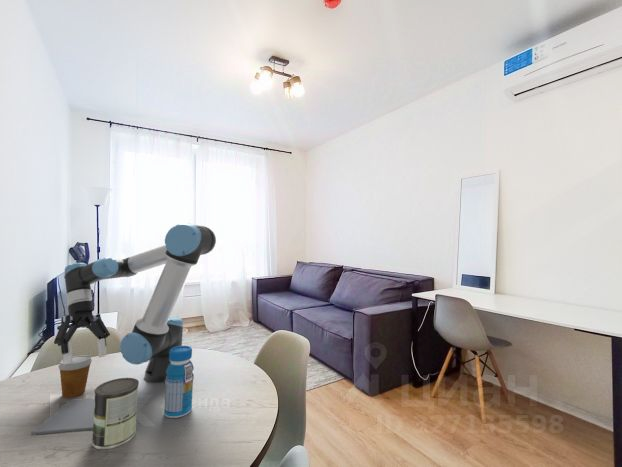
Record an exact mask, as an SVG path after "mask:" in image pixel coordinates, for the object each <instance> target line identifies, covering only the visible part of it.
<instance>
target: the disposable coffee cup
mask: <svg viewBox="0 0 622 467" xmlns="http://www.w3.org/2000/svg"><path fill="white" fill-rule="evenodd" d="M92 362H93V359H92V357H91V356H90V355H84V354H83V355H75V356H73V362H71V363H68V364H65V365H64V359H61V361H60V362H59V364H58V369H59V374H60V385H61V397H62V398H63V399H72V398H76V397H79V396H81V395H84V394H85V391H86V387H87V384H88V383H87V382H88V377H89V372H90V368H91V364H92Z"/></svg>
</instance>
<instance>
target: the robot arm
mask: <svg viewBox="0 0 622 467" xmlns="http://www.w3.org/2000/svg"><path fill="white" fill-rule="evenodd" d="M216 242H217V239H216V235H215V232H214V231H213V230H212V229H211V228H209V227H207V226H205V225H198V224H193V223H178V224H176V225H174V226H172V227H171V228H170V229H169V230H168V231H167V232H166V234H165V238H164V244H165V245H161V246H159V247H155V248H152V249H150V250H147V251H144V252H140V253H137V254H134V255H132V256H130V257H129V256H128V257H126V258H123V259H114V258H112V257H110V256H106V257H103V258H99V259H97V260H95V261H92V262H90V263H88V264H87V263H84V262H75V263H71V264H67V266H65V268H64V275H63V276H64V282H65V290H66V292H65V293H66V299H67V305H68V306H67V311H68V314H67V315H65V316H62V317H61V320H60V321H61V323H60V326H59V328H58V331H57V334H56V336H55V339H54V341H53V343H54V345H57V346H58V347H60V351H61V354H62V356H63V360H64V365H65V364H68V363H71V362H73V350H72V349H73V348H72V342H70V341H71V340H72V338H73V336H74V334H75V332H77V330H78V329H81V328H82V329H83V328H85V329H88V330H89V331H90V332H91V333H92V334H93V335H94V336H95V337H96V338H97V340H96V344H97V350H98V353H97V354H98V358H103V357H105V356H107V355H108V354H107V340H106V339H107V338H108V337H109V336H111V333H110V332H109V331H108V330H109V329H108V328H107V327H106V324H105V323H104V322H103V320H102V317H101V314H100V313H96V314H93V312H94V304H93V303H94V302H93V296H92V295H93V294H92V289H91V285H92V284H95V283H97V282H100V281H102V280H109V279H111V280H112V279H118V278H129V277H134V276H136V275H137V274H138V273H142V272H144V271H147V270H149V269H153V268H156V267H160V266H163V265H164V266H163V269H162V272H161V274H160V277H159V279H158V281H157V283H156V286H155V287H154V290H153V293H152V295H151V298H150V300H149V302H148V305H147V307H146V310H145V311H144V314H143V317H141V318H140V319H137V320H136V321H135V324H134V325H133V329H132V330H131V332H129V333H126V335H124V336H123V337H122V339H121V340H120V344H119V350H120V353H121V356H122V358H124V360H125V361H126V362H127V363H129V364H131V365H142V364H144V363H147V362H148V363H147V365H146V368H145V370H144V378H145V381H148V382H153V383H154V382H155V383H156V382H157V383H158V382H159V383H161V382H165V379H166V377H167V374H166V370H167V367H168V366H169V364H170V363H171V361H170V360H169V352H170V349H172V348H174V347H177V346H183V330H184V324H183V319H182V318H180V317H170V316H171V315H172V312H173V310H174V308H175V306H176V303H177V301H178V298H179V296H180V293H181V291H182V288H183V286H184V284H185V283H186V280H187V277H188V274H189V272H190V270H191V268H192V266H196V265H197V264H198V261H199V259H200V257H201V256H202V255H207V254H209V253H210V252H212V251H213V250H214V248H215V246H216ZM70 323H71V324H70Z"/></svg>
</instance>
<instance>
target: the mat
mask: <svg viewBox="0 0 622 467" xmlns="http://www.w3.org/2000/svg"><path fill="white" fill-rule="evenodd" d="M94 407H95V397H93V398H83V399H82V398H81V399H70V400H68V401H67V402H66V403H65V404H63V406H61V407H59V408H58V410H56V411H55V412H54V413H53V414H51V415H49V417H47V419H46V420H45V421H43V422H42V423H41V424H39V426H37V427H35V429H33V431H32V432H31V436H32V435H41V434H43V435H44V434H53V433H54V434H55V433H66V432H77V431H88V430H93V425H94Z"/></svg>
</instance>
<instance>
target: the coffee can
mask: <svg viewBox="0 0 622 467" xmlns="http://www.w3.org/2000/svg"><path fill="white" fill-rule="evenodd" d="M139 383H140V381H139V380H138V379H137V378H134V377H120V378H115V379H111V380H108V381H105V382H103V383H101V384H99V385H98V386H96V387H95V388H94V398H95V407H94V425H93V429H92V441H91V446H92V447H93V448H95V449H97V450H111V449H115V448H118V447H120V446H122V445H125V444H127V443H128V442H130V441H131V440H132V439H133V438H134V437H135V435H136V433H137V430H136V428H137V409H138V395H139V394H138V392H139V385H140V384H139Z"/></svg>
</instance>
